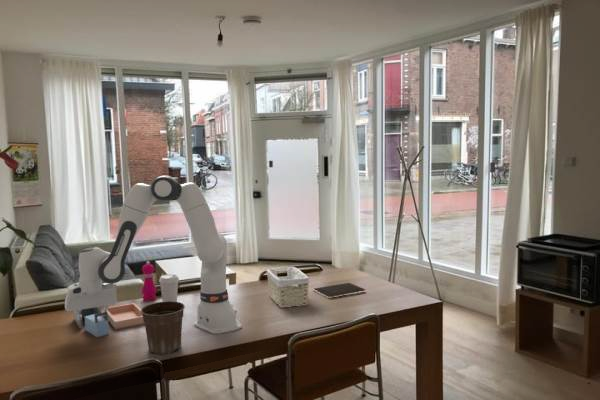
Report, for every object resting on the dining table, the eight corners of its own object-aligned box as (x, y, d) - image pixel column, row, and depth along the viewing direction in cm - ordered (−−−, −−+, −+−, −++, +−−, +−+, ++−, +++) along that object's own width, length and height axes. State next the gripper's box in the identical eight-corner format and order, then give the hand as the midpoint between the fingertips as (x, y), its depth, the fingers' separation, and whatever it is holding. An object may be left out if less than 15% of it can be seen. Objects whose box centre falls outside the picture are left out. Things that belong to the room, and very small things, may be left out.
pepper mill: (152, 301, 245) (150, 263, 243) (139, 300, 246) (137, 262, 244) (159, 297, 252) (157, 259, 250) (146, 296, 253) (145, 259, 251)
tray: (148, 323, 214) (147, 315, 214) (115, 329, 206) (115, 321, 206) (134, 309, 232) (134, 302, 232) (103, 315, 225) (103, 308, 224)
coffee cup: (168, 310, 231) (167, 279, 230) (155, 306, 237) (154, 276, 235) (183, 305, 239) (183, 275, 237) (171, 301, 245) (170, 272, 243)
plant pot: (144, 360, 176) (142, 317, 175) (140, 344, 191) (138, 304, 189) (189, 352, 183) (188, 311, 181) (182, 337, 197) (180, 299, 196)
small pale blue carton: (108, 334, 202) (107, 312, 201) (97, 337, 198) (95, 315, 197) (96, 327, 210) (95, 305, 209) (85, 330, 207) (84, 308, 206)
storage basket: (310, 306, 236) (310, 276, 235) (278, 310, 231) (278, 279, 230) (295, 293, 259) (295, 266, 257) (266, 296, 254) (265, 268, 252)
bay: (101, 324, 213) (100, 304, 212) (79, 328, 208) (78, 308, 207) (94, 315, 225) (93, 296, 224) (74, 319, 220) (73, 300, 219)
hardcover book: (365, 293, 258) (365, 289, 258) (328, 300, 247) (328, 295, 247) (348, 286, 272) (348, 282, 272) (313, 292, 261) (313, 288, 261)
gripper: (114, 280, 211) (115, 311, 213) (63, 287, 200) (64, 319, 201) (118, 283, 206) (119, 315, 207) (65, 291, 195) (67, 324, 196)
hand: (92, 317), depth 204 cm, fingers open, 8 cm apart
